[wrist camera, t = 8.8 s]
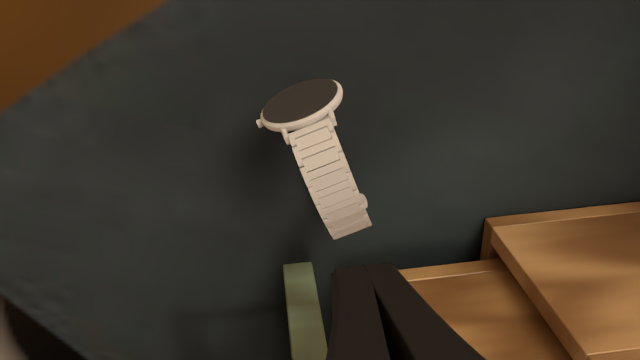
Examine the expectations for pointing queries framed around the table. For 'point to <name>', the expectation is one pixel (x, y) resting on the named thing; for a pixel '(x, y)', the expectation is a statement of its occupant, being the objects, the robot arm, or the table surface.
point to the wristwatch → (319, 151)
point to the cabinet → (577, 274)
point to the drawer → (441, 310)
